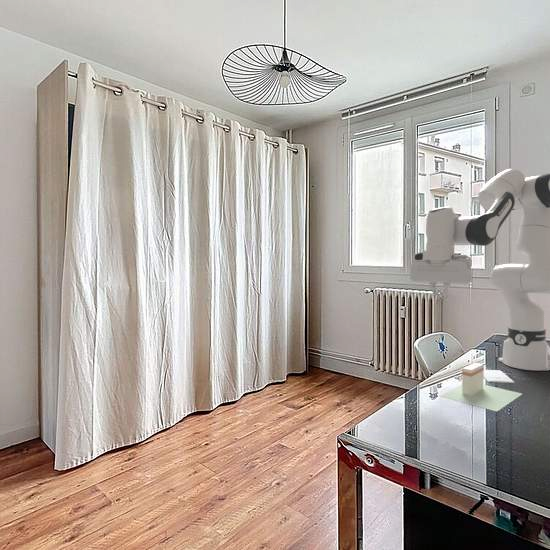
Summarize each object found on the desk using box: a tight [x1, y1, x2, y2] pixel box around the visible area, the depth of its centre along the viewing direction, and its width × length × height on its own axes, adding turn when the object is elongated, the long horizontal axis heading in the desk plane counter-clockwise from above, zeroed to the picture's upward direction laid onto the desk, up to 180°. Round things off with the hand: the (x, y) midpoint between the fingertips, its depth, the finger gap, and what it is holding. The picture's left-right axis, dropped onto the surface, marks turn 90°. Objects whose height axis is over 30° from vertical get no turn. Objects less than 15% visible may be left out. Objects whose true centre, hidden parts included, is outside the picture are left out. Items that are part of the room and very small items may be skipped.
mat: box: [440, 384, 523, 412], centre depth 120 cm, size 20×16×1 cm
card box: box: [461, 362, 485, 396], centre depth 122 cm, size 9×3×8 cm, turn 130°
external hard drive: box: [483, 369, 516, 384], centre depth 136 cm, size 2×8×12 cm
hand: (439, 295), depth 133 cm, fingers closed
